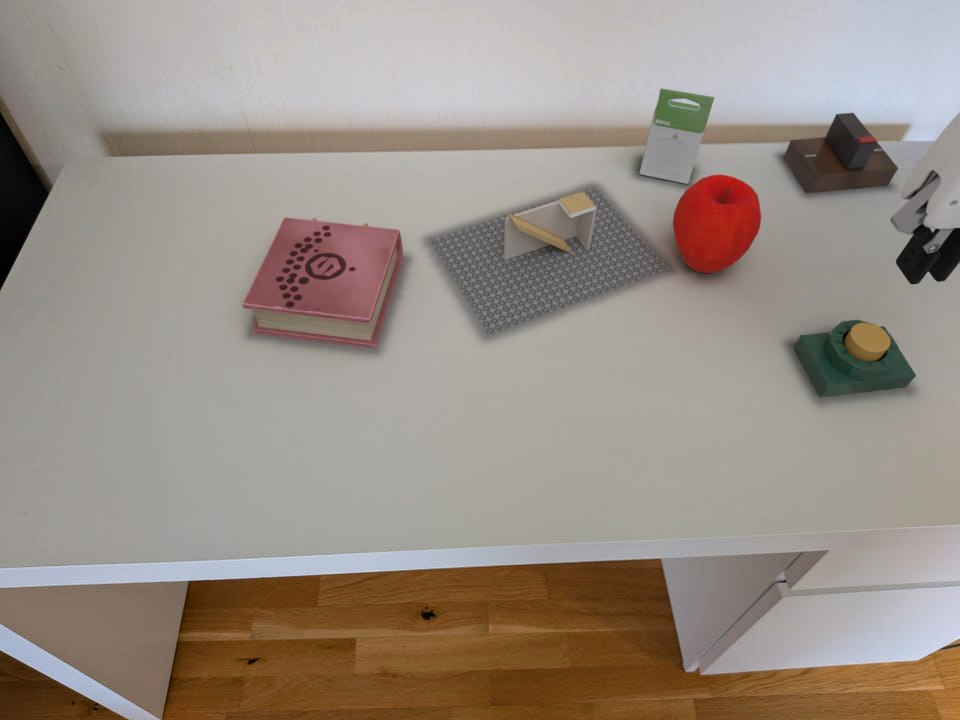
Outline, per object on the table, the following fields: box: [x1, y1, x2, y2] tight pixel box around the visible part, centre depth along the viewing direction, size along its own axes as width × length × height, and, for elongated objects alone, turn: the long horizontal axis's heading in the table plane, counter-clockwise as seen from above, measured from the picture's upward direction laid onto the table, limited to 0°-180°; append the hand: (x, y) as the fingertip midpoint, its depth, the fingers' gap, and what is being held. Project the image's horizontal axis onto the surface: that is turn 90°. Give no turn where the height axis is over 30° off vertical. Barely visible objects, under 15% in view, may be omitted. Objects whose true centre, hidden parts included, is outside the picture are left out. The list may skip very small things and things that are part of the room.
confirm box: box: [793, 319, 917, 398], centre depth 74 cm, size 10×7×4 cm
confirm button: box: [844, 322, 890, 362], centre depth 72 cm, size 4×4×2 cm
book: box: [241, 216, 404, 349], centre depth 80 cm, size 14×15×5 cm
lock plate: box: [783, 136, 899, 194], centre depth 95 cm, size 12×8×3 cm, turn 98°
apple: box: [672, 174, 762, 274], centre depth 81 cm, size 10×10×12 cm
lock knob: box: [824, 112, 879, 170], centre depth 93 cm, size 7×2×4 cm, turn 8°
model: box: [503, 190, 598, 260], centre depth 83 cm, size 3×11×8 cm, turn 115°
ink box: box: [639, 88, 716, 185], centre depth 91 cm, size 7×4×13 cm, turn 71°
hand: (919, 271), depth 64 cm, fingers closed
